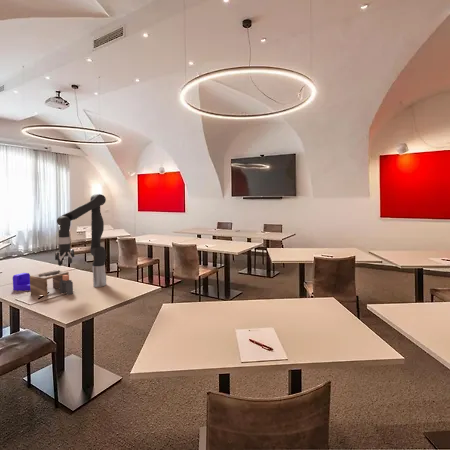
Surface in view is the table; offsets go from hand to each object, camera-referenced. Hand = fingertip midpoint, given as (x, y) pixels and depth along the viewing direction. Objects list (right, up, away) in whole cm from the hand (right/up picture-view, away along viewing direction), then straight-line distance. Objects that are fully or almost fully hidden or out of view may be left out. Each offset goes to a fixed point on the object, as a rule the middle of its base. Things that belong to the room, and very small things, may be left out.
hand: (65, 264), depth 219 cm
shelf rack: (-15, -22, +6) cm, 27 cm away
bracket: (-37, -22, +13) cm, 44 cm away
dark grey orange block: (0, -22, +2) cm, 22 cm away
